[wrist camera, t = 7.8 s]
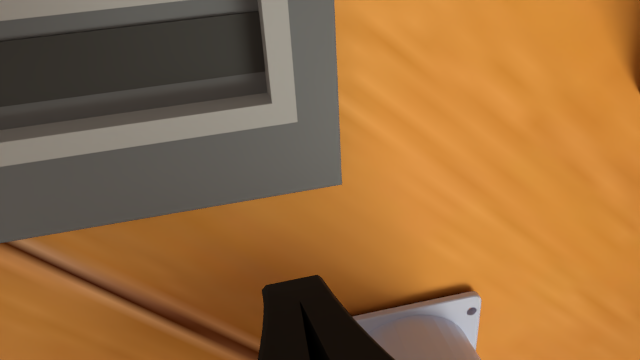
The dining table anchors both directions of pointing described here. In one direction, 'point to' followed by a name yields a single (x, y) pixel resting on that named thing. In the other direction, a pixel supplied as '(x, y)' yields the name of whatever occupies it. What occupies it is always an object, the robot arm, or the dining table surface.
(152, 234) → the dining table surface
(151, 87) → the console board
